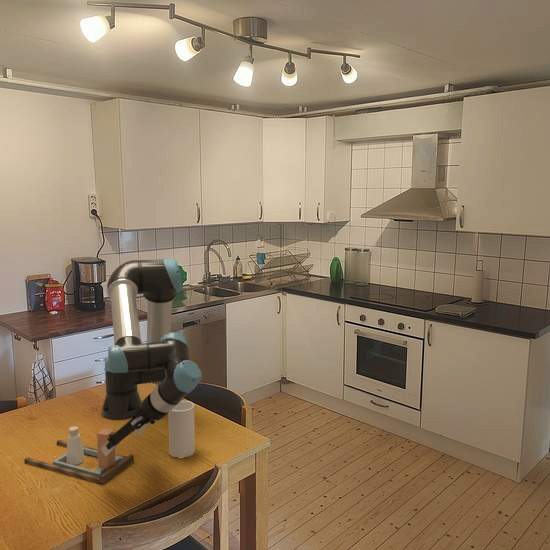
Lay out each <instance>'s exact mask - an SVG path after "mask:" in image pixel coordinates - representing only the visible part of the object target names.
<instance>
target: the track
mask: <svg viewBox="0 0 550 550" xmlns="http://www.w3.org/2000/svg"><path fill="white" fill-rule="evenodd" d="M56 445H57V446H60V447H63V448H67V441H66V440H61V439H58V440H56ZM82 447H84V448H88V449H92V450H96V451H98V448H93V447H89V446H86V445H82ZM115 455H116V456H120V457H123V460H121V461H120V462H119V463H117V464H116V465H114V466H113V467H112V468H110V469H109V470H107V471H106V472H105V473H103V474H102V475H100V476H99V477H97V476H93V475H90V474H86V473H82V472H79V471H75V470H71V469H68V468H64V467H60V466H57V465H53V463H49V462H45V461H41V460H38V459H34V458H31V457H25V458H24V463H25V464H28V465H30V464H31V465H32V466H34V467H38V468H40V469H41V468H42V469H46V470H49V471H52V472H55V473H58V474H63V475H67V476H70V477H73V478H77V479H81V480H84V481H88V482H91V483H95V484H98V485H102V486H103V485H105V484H106V483H108V482H109V481H110V480H112V479H113V478H114V477H116V476H118V474H120V473H121V472H123V471H124V470H126V468H128V467H129V466H130V465H132V464H133V463H134V462H135V454H132V453H130V454H129V455H127V456H126V455H122V454H118V453H115Z"/></svg>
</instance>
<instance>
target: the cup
mask: <svg viewBox="0 0 550 550" xmlns="http://www.w3.org/2000/svg"><path fill="white" fill-rule="evenodd" d="M167 415H168V448H169V449H168V453H170V454H169V455H171V456H170V457H172V456H173V457H172V458H174V457H187V456H190V455H192V454H193V453H194V452H196V444H195V443H196V440H195V437H196V436H195V435H196V433H195V432H196V431H195V404H194V403H193V402H192V401H190V400H181V401H180V402H179V403H178V404H177V405H176V406H175V407H174V408H173V409H172V410H171V411H170V412H169V413H168V414H167ZM194 454H195V453H194ZM194 454H193V455H194ZM193 455H192V456H193ZM190 457H191V456H190ZM187 458H188V457H187Z"/></svg>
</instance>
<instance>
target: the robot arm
mask: <svg viewBox="0 0 550 550" xmlns="http://www.w3.org/2000/svg"><path fill="white" fill-rule="evenodd" d="M182 290H183V286H182V277H181V270H180V267H179V263H178V261H177V260H175V259H171V258H170V259H168V258H167V259H166V258H163V259H139V260H137V259H135V260H134V259H132V260H129V261H126V262H123V263H122V264H120V265H119V266H118V267H116V269H115V270H114V271H113V272H112V273H111V275H110V276H109V278H108V281H107V284H106V293H107V297H108V299H110V303H111V317H112V329H113V341H114V344H113V345H110V346H109V347H108V349H107V353H108V354H107V355H108V356H107V357H106V358H105V359H104V370H103V371H105V375H104V376H105V395H104V400H103V404H102V406H101V414H102V416H103V417H104V418H106V419H110V420H125V419H130V418H131V419H130V420H129V421H127V422H126V423H125V424H124V425H123V426H122V427H120V428H119V429H118V430H117V431H115V432H114V434H113V435H109V438H108V441H107V442H106V443H105V444H104V445H103V446H102V447H101V448H100V449H101V450H102V452H103V453H104V455H105V456H107V455H108V454H109V453H110V452H111V451H112V450H113V449H114V448H115V449H116V447H118V446H119V445H120V444H121V442H122V441H123V440H124V439H125V438H127V437H128V436H129V435H130V434H132V433H134V434H135V436H136V437H138V436H139V435H140V434H141V433H142V432H143V431H144V430H145V429H146V428H147V427H149V425H150V424H151V425H154V424H155V423H156V421H160V420H162V419H164V417H166V416H167V415H168V413H169V412H170V411H171V410H172V409H173V408H174V407H175V406H176V405H177V404H178V403H179V402H180V401H183V400H184V399H185V398H186V397H187V395H189V394H190V393H191V392H192V391H193V390H195V389H196V387H197V386H198V385H199V383H200V382H201V380H202V379H203V373H202V371H201V369H200V368H199V366H198V364H197V363H195V362H194V361H192V360H191V359H190V353H189V346H188V343H187V340H186V337H185V336H184V335H183V334H182V333H180V332H176V331H175V332H171V327H172V311H173V310H172V309H173V308H172V307H173V306H172V305H173V301H174V300H175V299H176V298H177V293H181V292H182ZM141 294H142V296H143V298H144V299H145V300H147V308H146V310H147V314H146V315H147V316H146V317H147V318H146V319H147V320H146V321H147V322H146V323H147V324H146V329H147V330H146V342H145V343H142V336H141V329H140V321H139V313H138V305H137V298H136V297H137V296H138V295H141ZM155 383H156V384H155ZM143 384H145V385H146V384H155V388H154V389H153V390H152V391H151V392H150V393H149V394H148V395H147V396H146V397H145V398H144V399H143V400H142V398H141V397H140V393H139V391H138V385H143ZM133 416H134V417H133Z"/></svg>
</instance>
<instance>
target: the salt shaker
mask: <svg viewBox="0 0 550 550" xmlns="http://www.w3.org/2000/svg"><path fill="white" fill-rule="evenodd" d="M68 433H69V434H68V436H67V439H66V440H67V441H66V442H67V447H66V453H67V457H66V460H65V463H67V464H71V465H74V466H78V465H79V464H82V463H84V460H85V454H84V453H83V447H82V446H83V443H82V437H81V436H82V435H81V433H80V434H79V427H78V426H70V427H68Z"/></svg>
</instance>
